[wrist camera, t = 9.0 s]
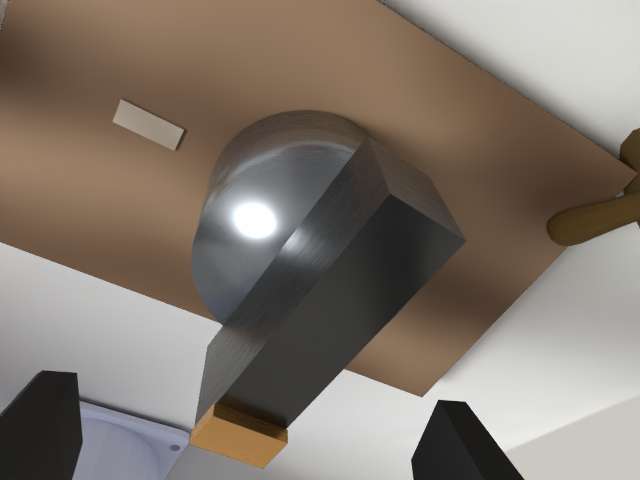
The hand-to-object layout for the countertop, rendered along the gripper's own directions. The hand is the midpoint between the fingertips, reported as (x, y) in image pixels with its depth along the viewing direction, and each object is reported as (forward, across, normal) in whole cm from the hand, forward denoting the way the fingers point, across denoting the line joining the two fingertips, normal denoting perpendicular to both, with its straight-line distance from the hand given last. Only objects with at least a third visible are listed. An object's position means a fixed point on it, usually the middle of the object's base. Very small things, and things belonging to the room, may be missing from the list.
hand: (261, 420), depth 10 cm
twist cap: (+9, -1, -1) cm, 9 cm away
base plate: (+10, -1, -1) cm, 10 cm away
